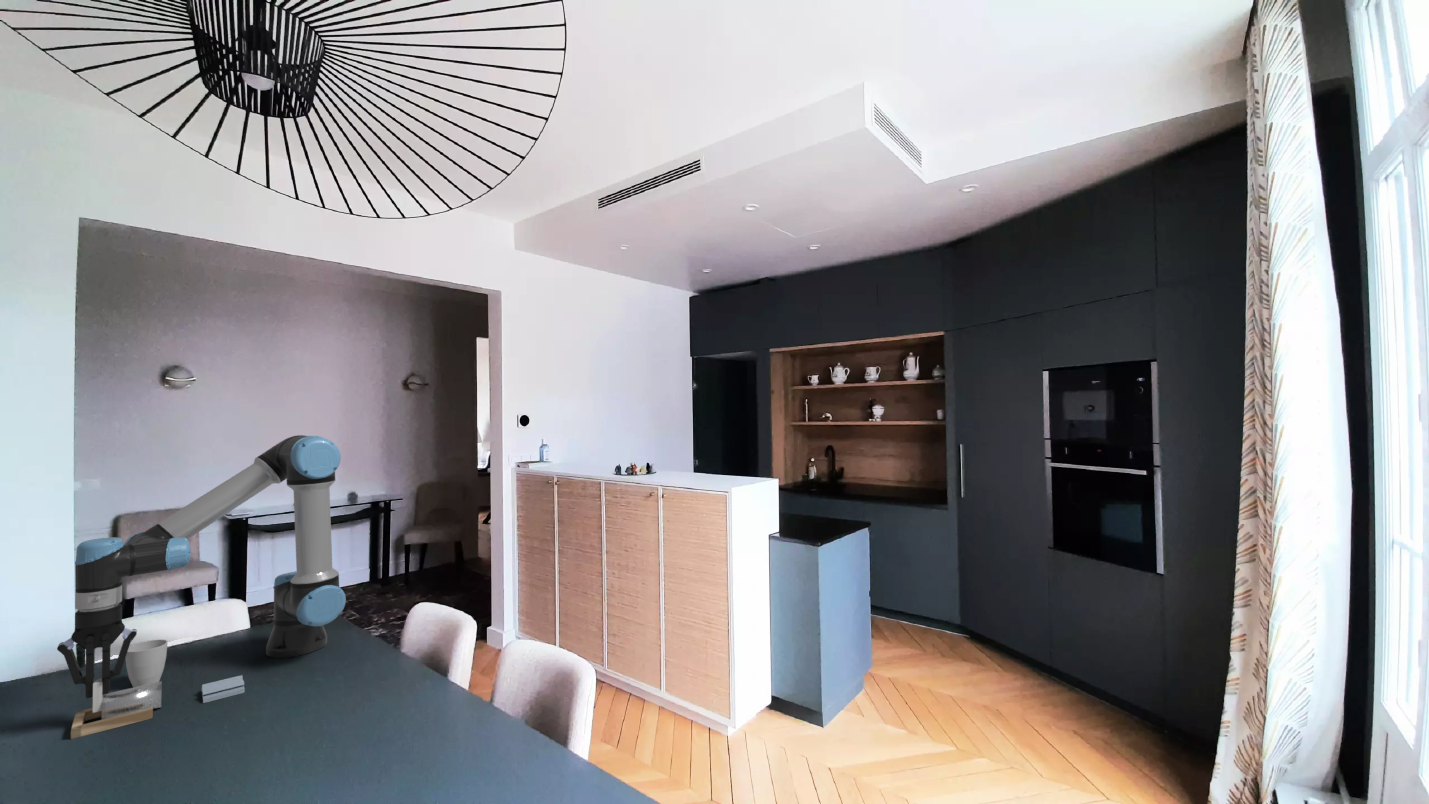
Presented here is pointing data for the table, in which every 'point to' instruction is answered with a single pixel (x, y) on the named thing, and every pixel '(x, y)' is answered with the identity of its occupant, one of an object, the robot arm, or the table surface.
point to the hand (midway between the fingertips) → (97, 709)
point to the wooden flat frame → (105, 721)
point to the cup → (146, 662)
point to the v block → (222, 688)
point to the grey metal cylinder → (131, 700)
